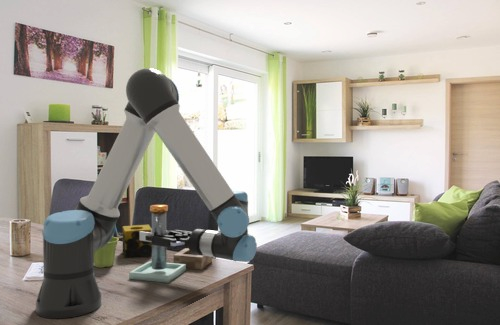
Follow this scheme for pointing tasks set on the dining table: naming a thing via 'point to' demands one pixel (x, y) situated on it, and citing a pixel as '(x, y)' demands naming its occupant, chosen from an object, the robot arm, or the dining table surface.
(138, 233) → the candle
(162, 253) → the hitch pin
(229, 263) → the dining table surface
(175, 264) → the tray
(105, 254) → the plant pot
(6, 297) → the dining table surface
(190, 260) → the socket collar
